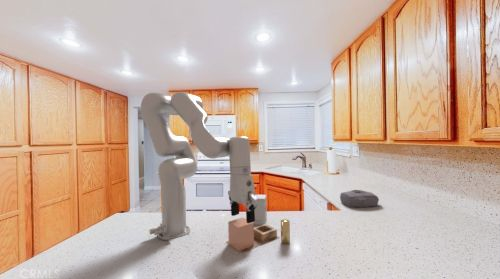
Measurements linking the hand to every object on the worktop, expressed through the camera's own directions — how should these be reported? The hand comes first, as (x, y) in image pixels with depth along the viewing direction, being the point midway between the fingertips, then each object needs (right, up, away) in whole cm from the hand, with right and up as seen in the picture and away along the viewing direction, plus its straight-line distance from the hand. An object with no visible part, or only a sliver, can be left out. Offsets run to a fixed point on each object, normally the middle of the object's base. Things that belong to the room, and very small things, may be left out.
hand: (242, 218), depth 76 cm
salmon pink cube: (0, -10, 0) cm, 10 cm away
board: (+4, -11, +4) cm, 12 cm away
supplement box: (+7, -11, +22) cm, 25 cm away
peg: (+16, -10, +1) cm, 19 cm away
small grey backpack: (+67, -10, +47) cm, 82 cm away
